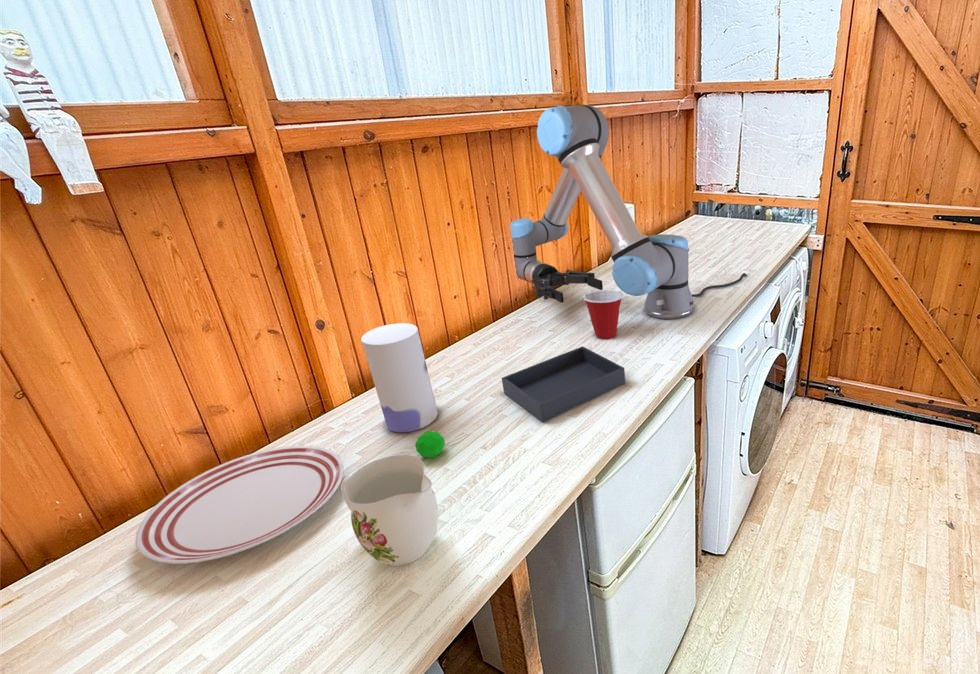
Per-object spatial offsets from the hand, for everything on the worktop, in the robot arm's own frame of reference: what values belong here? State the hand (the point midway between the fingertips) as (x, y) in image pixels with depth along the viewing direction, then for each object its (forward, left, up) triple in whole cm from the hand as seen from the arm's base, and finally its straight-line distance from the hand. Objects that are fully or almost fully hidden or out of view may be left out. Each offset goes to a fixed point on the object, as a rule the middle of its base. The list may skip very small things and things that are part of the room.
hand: (582, 291), depth 146 cm
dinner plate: (+76, +41, -11) cm, 87 cm away
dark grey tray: (+18, +31, -10) cm, 37 cm away
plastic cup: (-2, +9, -11) cm, 14 cm away
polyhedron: (+48, +41, -11) cm, 64 cm away
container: (+50, +26, -11) cm, 57 cm away
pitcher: (+55, +62, -11) cm, 84 cm away
